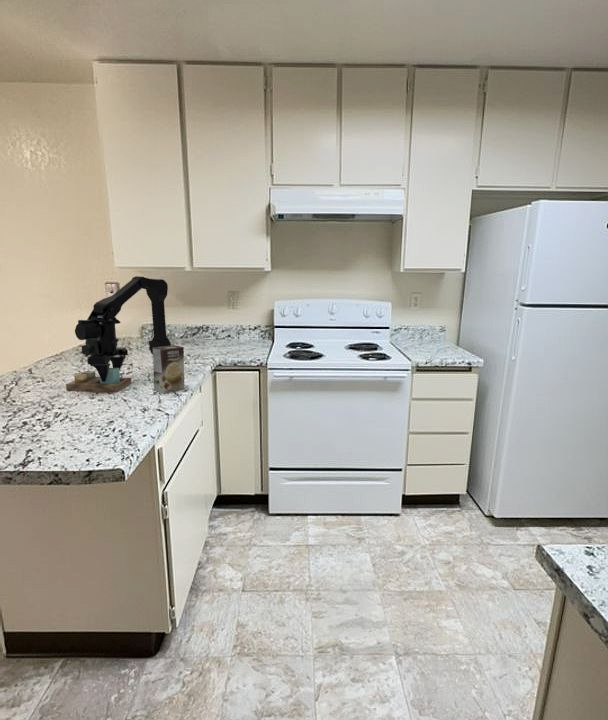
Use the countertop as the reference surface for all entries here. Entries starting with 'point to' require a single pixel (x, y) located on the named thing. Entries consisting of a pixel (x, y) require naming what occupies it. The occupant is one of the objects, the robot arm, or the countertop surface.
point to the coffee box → (168, 368)
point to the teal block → (112, 376)
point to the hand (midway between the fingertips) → (110, 378)
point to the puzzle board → (95, 383)
